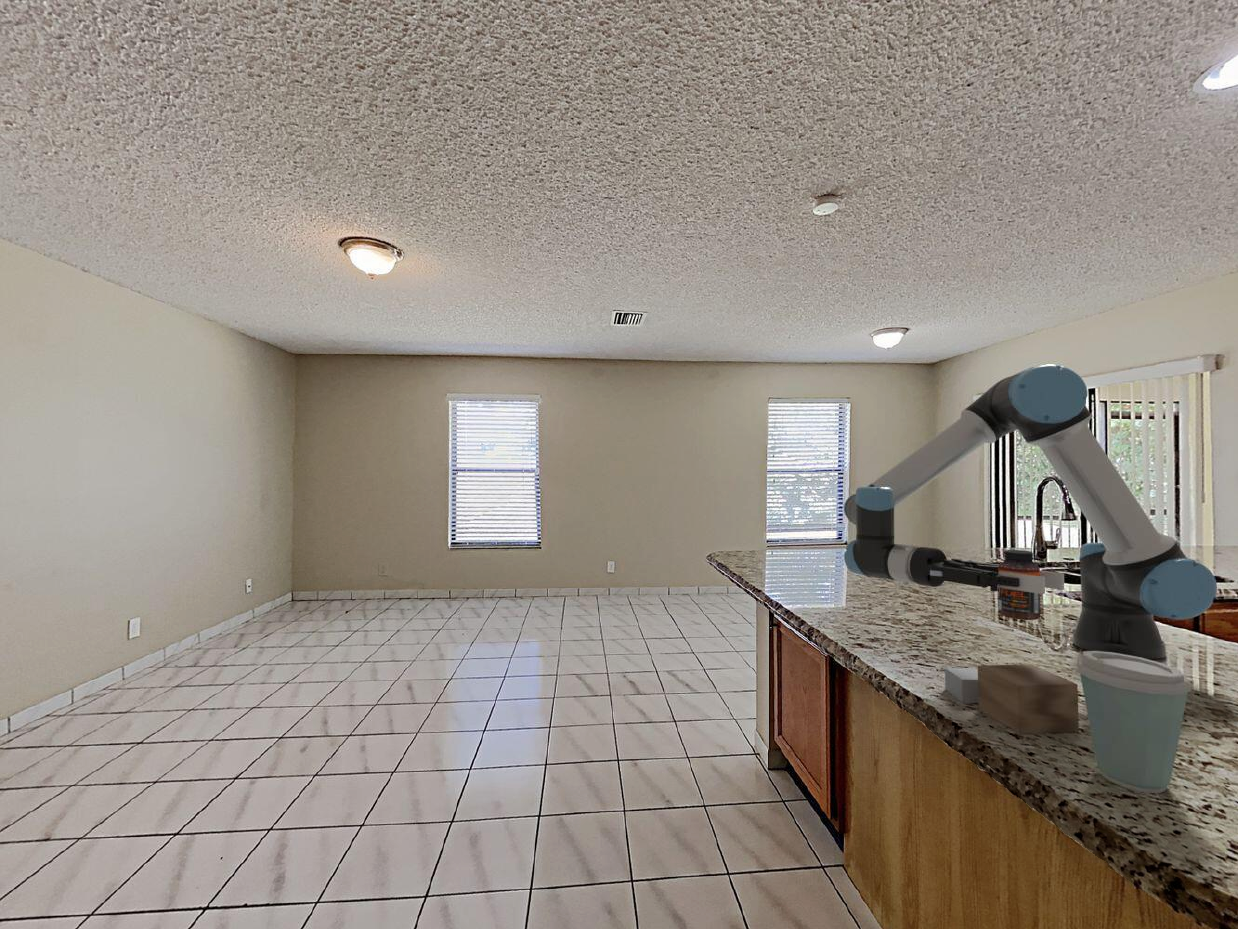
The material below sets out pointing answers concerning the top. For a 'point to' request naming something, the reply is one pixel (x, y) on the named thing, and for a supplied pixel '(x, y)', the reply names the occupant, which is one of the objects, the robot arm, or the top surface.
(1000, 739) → the top surface
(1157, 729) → the disposable coffee cup
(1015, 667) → the walnut block
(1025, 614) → the supplement bottle
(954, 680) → the grey block
